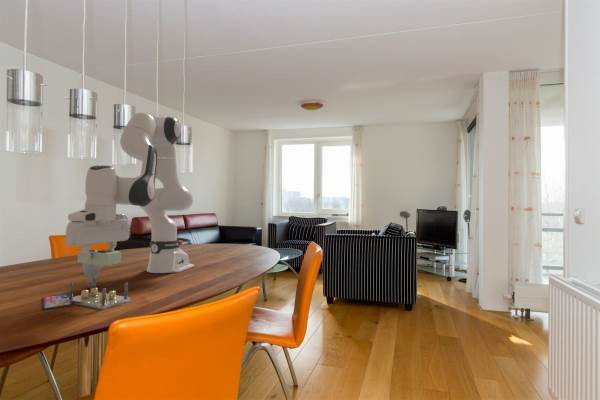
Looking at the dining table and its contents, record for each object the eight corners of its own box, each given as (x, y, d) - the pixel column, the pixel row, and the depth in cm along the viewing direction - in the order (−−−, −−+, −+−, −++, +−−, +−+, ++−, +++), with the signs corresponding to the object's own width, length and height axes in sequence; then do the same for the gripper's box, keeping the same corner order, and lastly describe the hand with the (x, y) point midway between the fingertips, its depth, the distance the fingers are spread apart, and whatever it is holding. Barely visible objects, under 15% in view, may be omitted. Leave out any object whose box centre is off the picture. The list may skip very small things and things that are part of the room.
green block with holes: (91, 259, 114) (92, 247, 114) (121, 262, 111) (121, 249, 111) (77, 262, 109) (77, 249, 109) (108, 265, 106) (108, 252, 106)
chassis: (94, 294, 118) (95, 277, 118) (130, 300, 112) (131, 282, 112) (65, 302, 109) (65, 283, 109) (103, 309, 103) (103, 289, 103)
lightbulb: (104, 286, 128) (105, 257, 128) (90, 290, 122) (91, 260, 122) (92, 285, 130) (92, 256, 130) (77, 289, 124) (78, 259, 124)
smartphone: (42, 308, 101) (42, 296, 113) (42, 312, 101) (42, 299, 113) (72, 304, 105) (69, 293, 117) (72, 307, 105) (69, 295, 117)
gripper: (121, 213, 121) (120, 252, 121) (62, 215, 102) (61, 261, 102) (134, 214, 119) (133, 253, 119) (76, 216, 100) (75, 262, 100)
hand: (99, 257), depth 110 cm, fingers closed on green block with holes, 6 cm apart
